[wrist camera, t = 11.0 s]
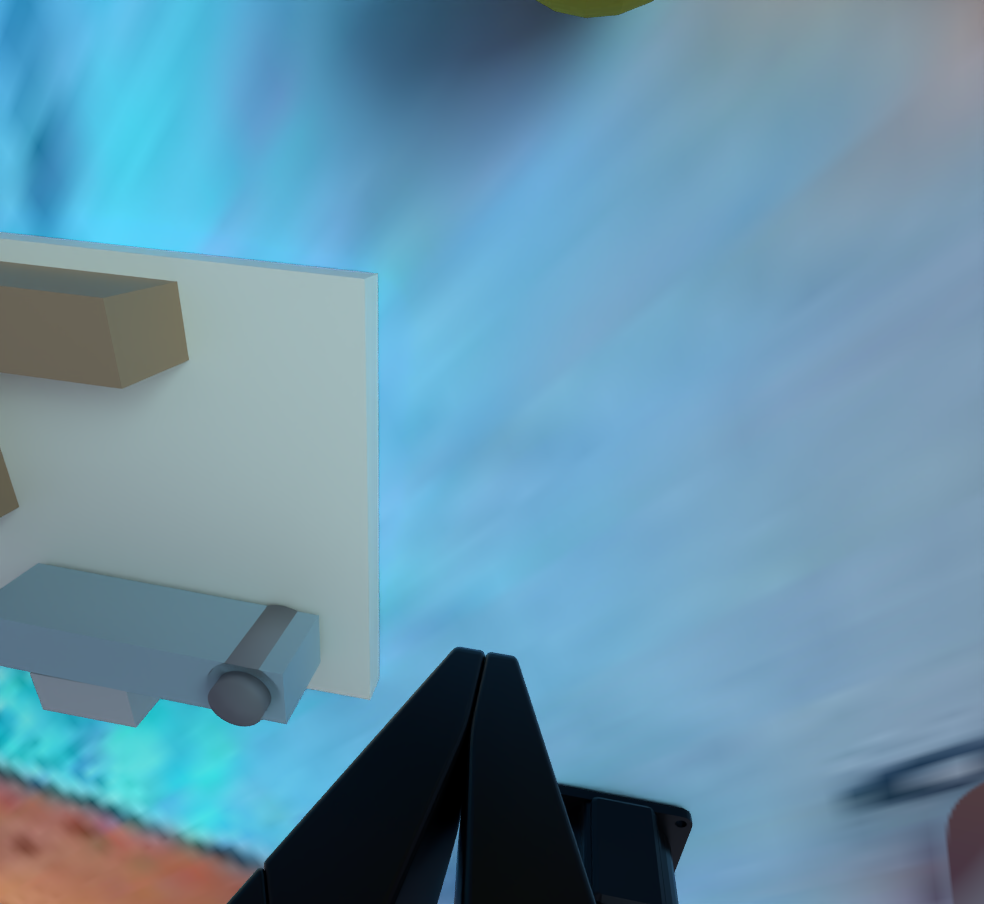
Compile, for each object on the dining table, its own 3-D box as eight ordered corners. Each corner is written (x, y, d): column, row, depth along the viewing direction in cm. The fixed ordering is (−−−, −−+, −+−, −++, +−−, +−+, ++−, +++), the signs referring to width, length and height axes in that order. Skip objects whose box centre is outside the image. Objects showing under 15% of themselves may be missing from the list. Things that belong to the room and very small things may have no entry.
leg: (319, 612, 22) (273, 685, 19) (320, 664, 23) (278, 741, 20) (37, 559, 23) (-52, 620, 20) (53, 612, 24) (-29, 678, 21)
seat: (379, 681, 25) (343, 767, 21) (32, 619, 27) (-58, 689, 23) (377, 273, 18) (322, 295, 14) (-106, 220, 19) (-275, 227, 15)
